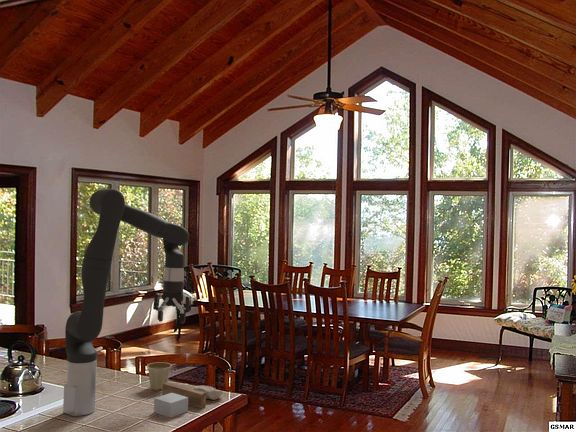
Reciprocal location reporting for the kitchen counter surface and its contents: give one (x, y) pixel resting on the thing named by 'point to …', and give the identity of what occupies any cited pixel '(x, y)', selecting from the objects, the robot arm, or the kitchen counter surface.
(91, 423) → the kitchen counter surface
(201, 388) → the fossil
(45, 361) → the kitchen counter surface
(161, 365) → the flower pot
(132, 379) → the kitchen counter surface
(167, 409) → the block
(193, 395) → the board
